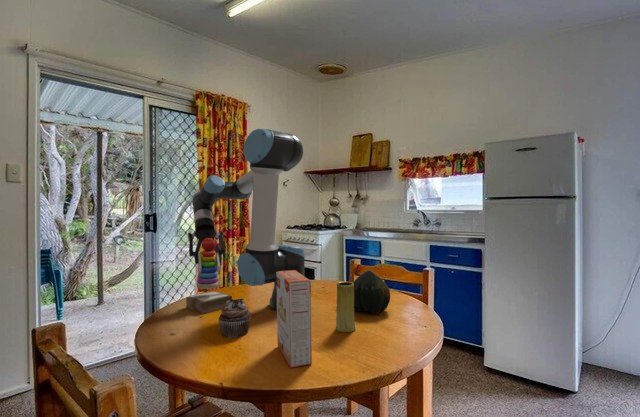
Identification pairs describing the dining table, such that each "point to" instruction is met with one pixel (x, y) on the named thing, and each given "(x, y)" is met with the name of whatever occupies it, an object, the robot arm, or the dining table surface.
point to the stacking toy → (208, 266)
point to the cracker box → (294, 317)
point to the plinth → (207, 302)
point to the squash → (370, 293)
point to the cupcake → (234, 319)
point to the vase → (345, 307)
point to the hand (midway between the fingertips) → (209, 269)
